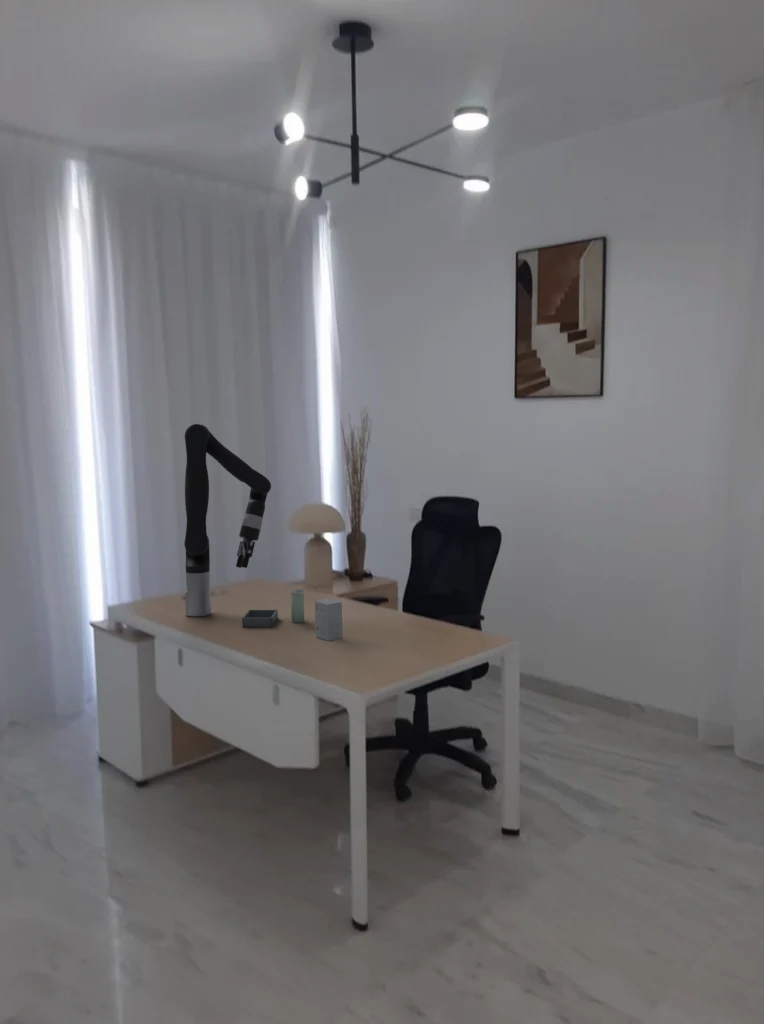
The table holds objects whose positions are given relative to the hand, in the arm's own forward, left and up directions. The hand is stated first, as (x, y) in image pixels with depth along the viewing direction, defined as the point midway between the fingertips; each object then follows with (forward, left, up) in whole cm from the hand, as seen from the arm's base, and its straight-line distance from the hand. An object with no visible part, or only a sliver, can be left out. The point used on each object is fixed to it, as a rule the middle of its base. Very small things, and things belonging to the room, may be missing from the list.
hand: (241, 567), depth 312 cm
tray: (+9, -9, -20) cm, 23 cm away
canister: (+23, -7, -20) cm, 31 cm away
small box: (+37, -30, -20) cm, 51 cm away
